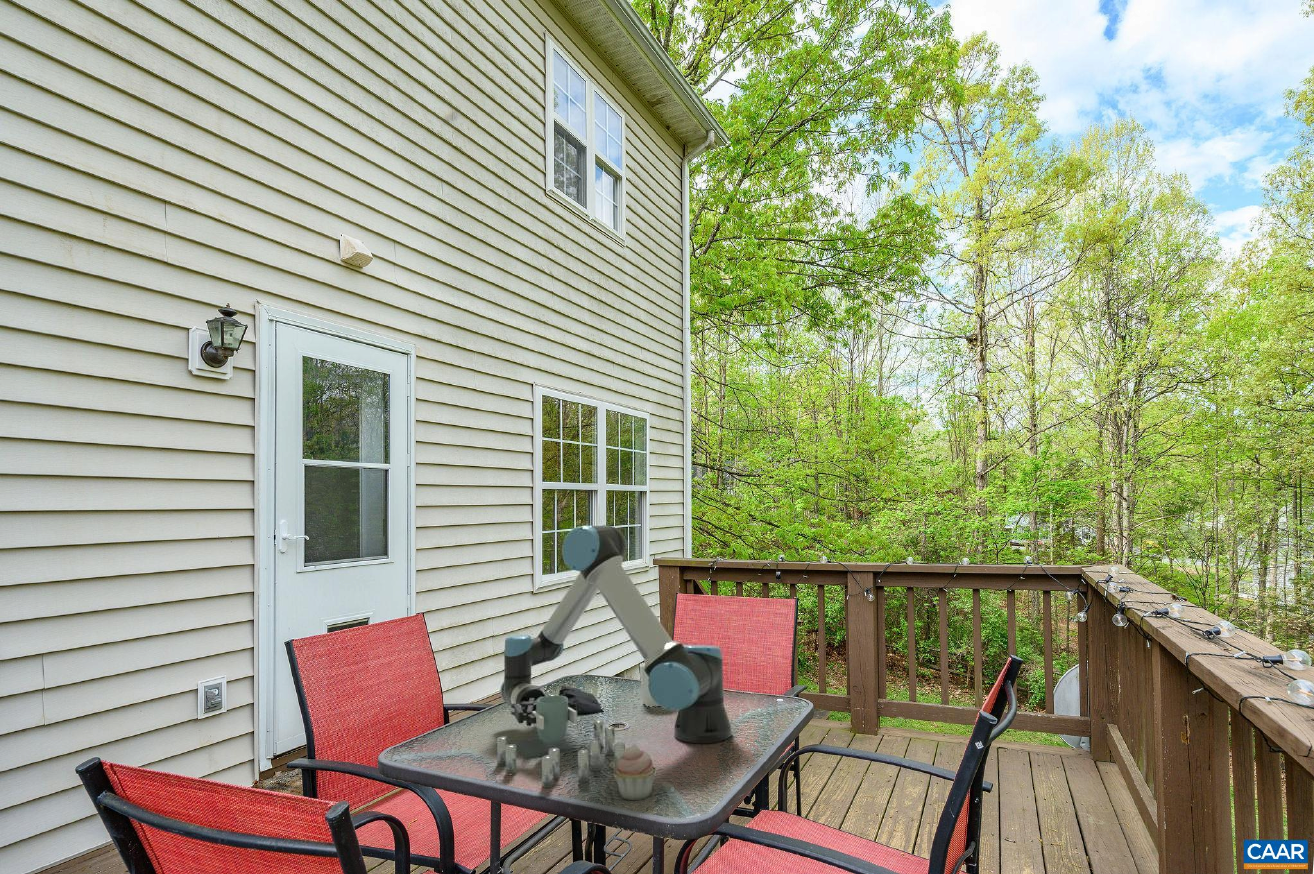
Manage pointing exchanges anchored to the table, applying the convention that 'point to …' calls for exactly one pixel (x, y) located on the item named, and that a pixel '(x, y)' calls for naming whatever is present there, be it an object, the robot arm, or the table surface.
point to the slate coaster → (540, 747)
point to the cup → (553, 718)
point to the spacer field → (552, 761)
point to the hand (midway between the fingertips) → (559, 720)
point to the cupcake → (635, 774)
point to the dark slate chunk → (581, 700)
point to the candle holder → (646, 688)
